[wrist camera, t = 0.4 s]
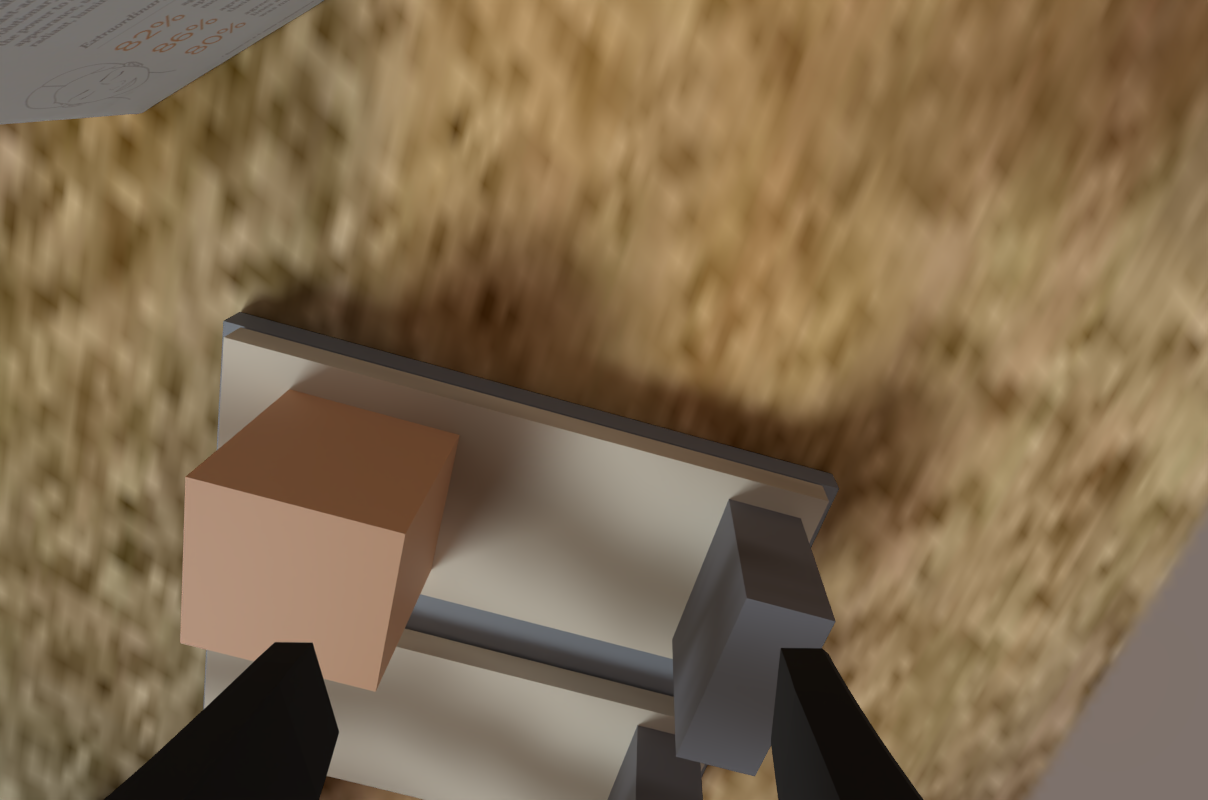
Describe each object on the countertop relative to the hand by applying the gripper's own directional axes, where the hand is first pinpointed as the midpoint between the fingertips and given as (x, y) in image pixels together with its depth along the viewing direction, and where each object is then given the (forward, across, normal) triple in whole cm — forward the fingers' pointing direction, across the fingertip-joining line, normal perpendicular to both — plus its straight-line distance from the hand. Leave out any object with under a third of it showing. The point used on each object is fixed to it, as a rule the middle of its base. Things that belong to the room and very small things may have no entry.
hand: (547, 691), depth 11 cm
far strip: (+8, +5, +11) cm, 15 cm away
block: (+8, +6, +2) cm, 10 cm away
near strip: (+9, +2, +3) cm, 10 cm away
